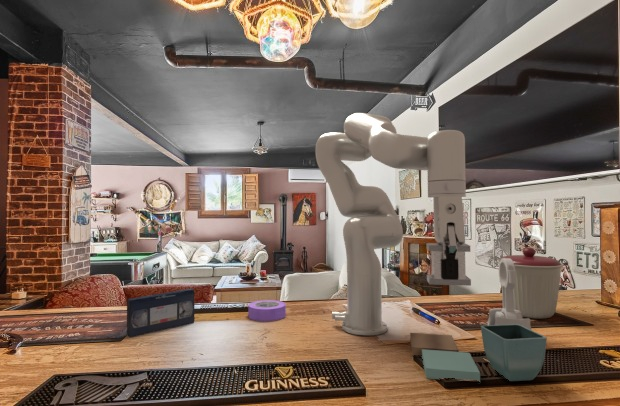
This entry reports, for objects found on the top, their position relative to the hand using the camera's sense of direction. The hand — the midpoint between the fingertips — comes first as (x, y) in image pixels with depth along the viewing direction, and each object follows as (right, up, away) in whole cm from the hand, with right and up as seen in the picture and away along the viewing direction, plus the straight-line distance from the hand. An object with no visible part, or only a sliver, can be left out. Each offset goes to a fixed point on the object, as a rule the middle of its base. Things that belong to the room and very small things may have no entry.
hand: (447, 275), depth 78 cm
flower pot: (+12, -20, -3) cm, 23 cm away
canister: (+40, -20, +39) cm, 60 cm away
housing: (0, -1, 0) cm, 1 cm away
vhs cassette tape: (-71, -21, +27) cm, 78 cm away
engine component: (+22, -20, +18) cm, 35 cm away
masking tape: (-42, -21, +39) cm, 62 cm away
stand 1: (0, -20, +11) cm, 22 cm away
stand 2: (0, -20, 0) cm, 20 cm away
